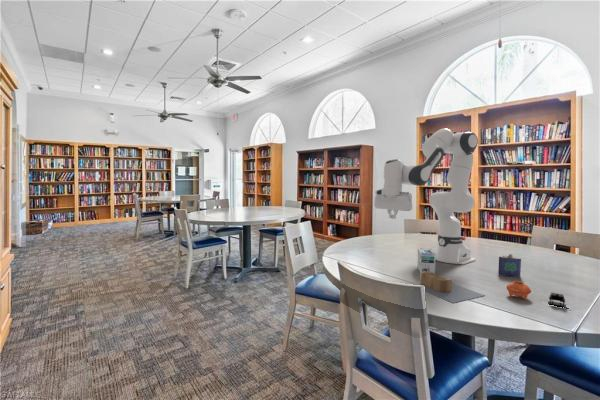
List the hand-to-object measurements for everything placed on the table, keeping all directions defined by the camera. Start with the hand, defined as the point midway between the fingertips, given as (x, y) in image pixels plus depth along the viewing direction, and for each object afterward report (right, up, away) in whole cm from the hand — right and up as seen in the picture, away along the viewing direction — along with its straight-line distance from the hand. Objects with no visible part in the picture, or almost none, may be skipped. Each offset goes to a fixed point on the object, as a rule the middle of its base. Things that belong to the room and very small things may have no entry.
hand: (392, 218), depth 156 cm
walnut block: (+8, -25, -20) cm, 33 cm away
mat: (+15, -29, -30) cm, 44 cm away
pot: (+39, -29, -35) cm, 60 cm away
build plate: (+48, -30, -43) cm, 71 cm away
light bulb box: (+16, -27, -3) cm, 31 cm away
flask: (+53, -27, -9) cm, 61 cm away
